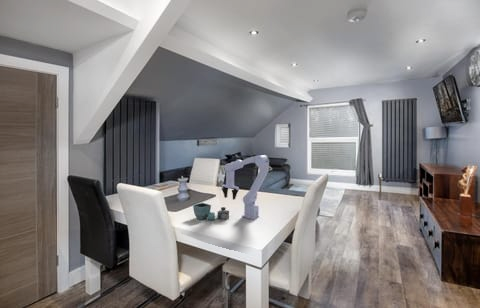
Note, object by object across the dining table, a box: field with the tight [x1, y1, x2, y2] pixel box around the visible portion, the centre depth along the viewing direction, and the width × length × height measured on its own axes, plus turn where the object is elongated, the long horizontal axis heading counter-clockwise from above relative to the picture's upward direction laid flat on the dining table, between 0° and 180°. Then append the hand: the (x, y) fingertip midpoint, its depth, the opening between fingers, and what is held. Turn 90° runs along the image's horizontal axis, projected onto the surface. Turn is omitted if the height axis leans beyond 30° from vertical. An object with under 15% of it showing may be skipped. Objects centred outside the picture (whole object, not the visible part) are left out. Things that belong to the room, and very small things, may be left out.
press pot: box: [216, 209, 230, 221], centre depth 161 cm, size 8×9×4 cm
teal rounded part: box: [207, 211, 216, 222], centre depth 157 cm, size 5×5×4 cm
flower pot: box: [192, 202, 212, 220], centre depth 160 cm, size 9×9×9 cm
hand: (229, 198), depth 172 cm, fingers open, 7 cm apart
